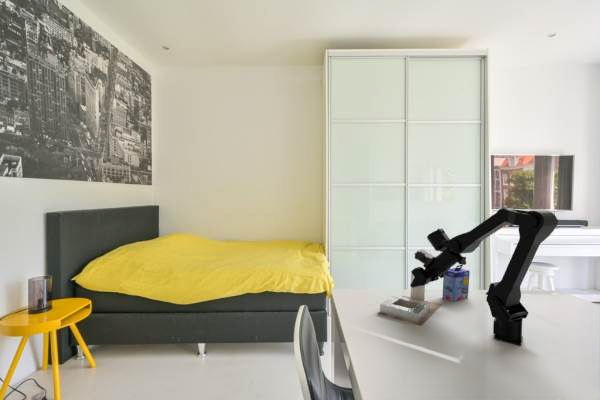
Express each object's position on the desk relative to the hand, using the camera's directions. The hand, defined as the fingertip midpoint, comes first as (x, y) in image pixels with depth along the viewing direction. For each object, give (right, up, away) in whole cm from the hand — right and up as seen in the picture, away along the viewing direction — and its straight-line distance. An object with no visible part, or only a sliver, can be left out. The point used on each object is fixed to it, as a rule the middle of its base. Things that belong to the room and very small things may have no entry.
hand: (414, 285), depth 119 cm
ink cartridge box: (+19, -8, +5) cm, 21 cm away
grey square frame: (-7, -6, -11) cm, 15 cm away
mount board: (-4, -7, -8) cm, 11 cm away
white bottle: (+1, -6, -1) cm, 7 cm away
